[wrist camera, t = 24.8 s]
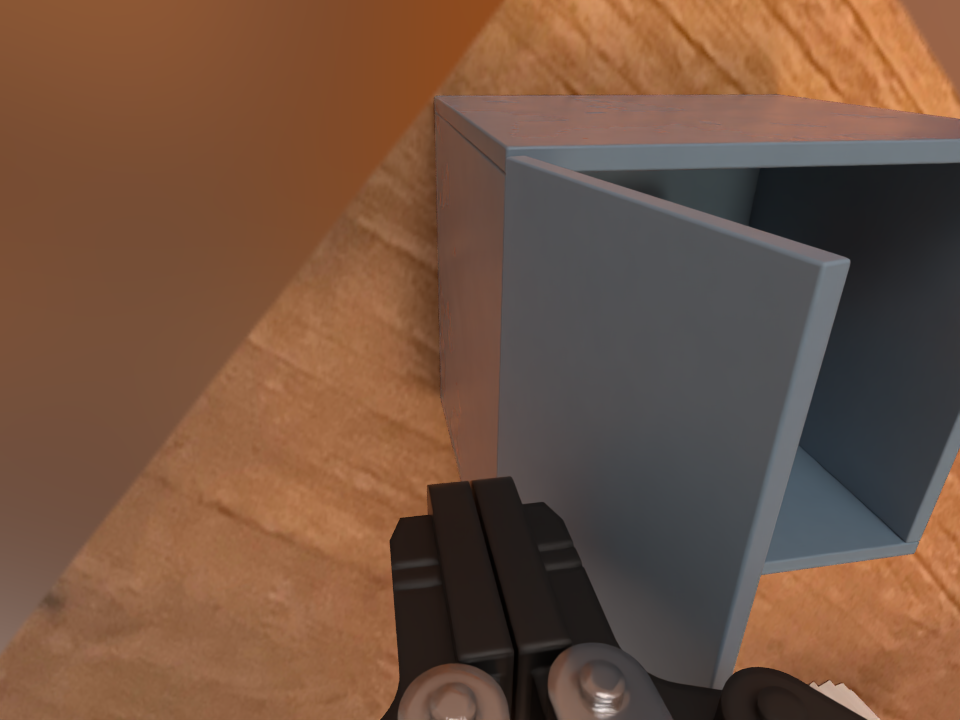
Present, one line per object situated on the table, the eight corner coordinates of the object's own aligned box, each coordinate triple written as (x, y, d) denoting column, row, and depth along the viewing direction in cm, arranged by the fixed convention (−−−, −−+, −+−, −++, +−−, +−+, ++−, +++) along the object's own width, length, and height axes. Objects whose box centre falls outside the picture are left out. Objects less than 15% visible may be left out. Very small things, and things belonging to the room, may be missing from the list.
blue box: (440, 398, 27) (493, 613, 17) (434, 95, 22) (506, 146, 12) (720, 375, 29) (915, 554, 19) (779, 94, 24) (1094, 136, 14)
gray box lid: (505, 630, 16) (492, 635, 16) (525, 154, 11) (505, 156, 11) (669, 897, 11) (651, 909, 11) (853, 258, 6) (825, 263, 6)
